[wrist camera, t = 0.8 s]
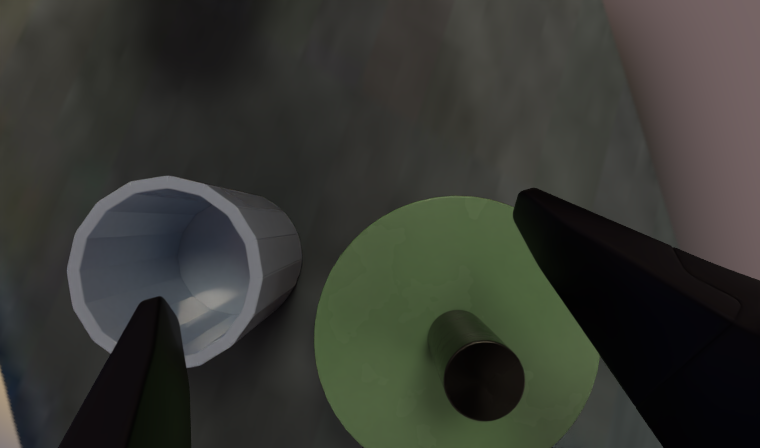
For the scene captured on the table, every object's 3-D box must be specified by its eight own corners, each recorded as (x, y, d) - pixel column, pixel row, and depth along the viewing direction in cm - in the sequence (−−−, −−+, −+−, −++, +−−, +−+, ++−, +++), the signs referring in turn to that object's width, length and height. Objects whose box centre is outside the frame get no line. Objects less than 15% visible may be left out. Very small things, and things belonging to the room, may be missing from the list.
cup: (326, 276, 23) (297, 305, 15) (217, 344, 23) (133, 407, 15) (259, 168, 23) (195, 140, 15) (150, 235, 23) (31, 242, 15)
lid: (615, 231, 17) (721, 236, 12) (552, 493, 17) (629, 616, 12) (352, 169, 17) (339, 145, 12) (290, 431, 17) (250, 526, 12)
